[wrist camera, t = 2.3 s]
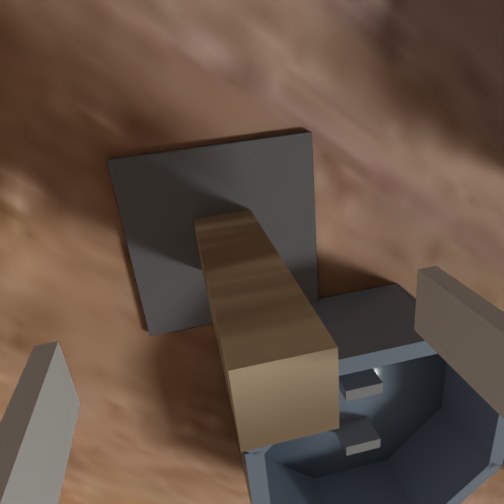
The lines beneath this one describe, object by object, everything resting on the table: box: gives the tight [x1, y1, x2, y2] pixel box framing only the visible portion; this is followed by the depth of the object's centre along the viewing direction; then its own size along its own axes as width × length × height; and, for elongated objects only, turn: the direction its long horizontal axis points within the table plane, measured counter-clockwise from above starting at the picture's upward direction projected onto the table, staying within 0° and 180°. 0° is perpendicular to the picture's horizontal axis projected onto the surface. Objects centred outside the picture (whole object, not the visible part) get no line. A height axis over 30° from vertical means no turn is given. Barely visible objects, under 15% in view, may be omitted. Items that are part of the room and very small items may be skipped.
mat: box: [107, 131, 318, 336], centre depth 23 cm, size 10×10×1 cm
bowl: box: [237, 284, 504, 504], centre depth 27 cm, size 16×16×6 cm
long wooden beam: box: [193, 210, 339, 452], centre depth 17 cm, size 3×3×12 cm
